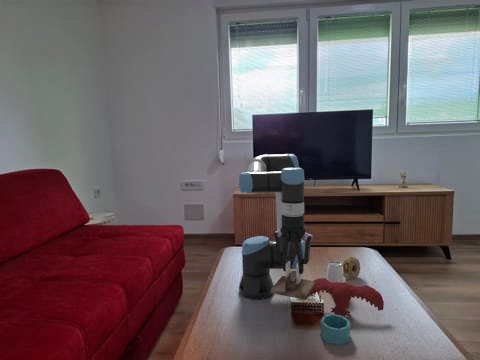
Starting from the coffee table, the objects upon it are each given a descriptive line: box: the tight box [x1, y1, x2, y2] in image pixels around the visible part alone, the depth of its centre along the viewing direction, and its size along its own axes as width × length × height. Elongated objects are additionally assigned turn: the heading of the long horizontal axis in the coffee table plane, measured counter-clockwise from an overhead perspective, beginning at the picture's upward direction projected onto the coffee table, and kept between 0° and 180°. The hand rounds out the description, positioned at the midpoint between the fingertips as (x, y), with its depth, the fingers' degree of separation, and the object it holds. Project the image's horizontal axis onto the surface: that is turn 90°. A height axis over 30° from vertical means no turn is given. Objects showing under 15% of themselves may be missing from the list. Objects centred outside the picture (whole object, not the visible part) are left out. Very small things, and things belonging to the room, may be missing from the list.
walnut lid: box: [271, 270, 315, 301], centre depth 109 cm, size 12×12×5 cm
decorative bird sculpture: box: [307, 277, 385, 319], centre depth 120 cm, size 28×9×15 cm
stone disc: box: [342, 256, 361, 281], centre depth 147 cm, size 10×4×10 cm, turn 125°
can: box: [326, 260, 344, 282], centre depth 136 cm, size 6×6×12 cm
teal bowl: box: [320, 313, 351, 346], centre depth 105 cm, size 9×9×5 cm
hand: (293, 281), depth 109 cm, fingers closed on walnut lid, 3 cm apart
